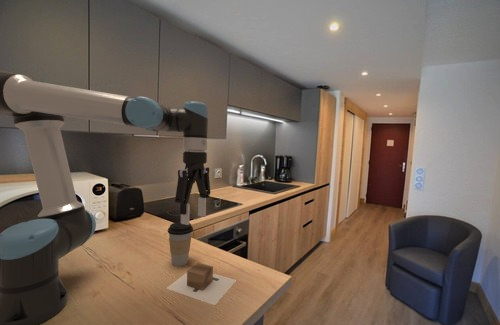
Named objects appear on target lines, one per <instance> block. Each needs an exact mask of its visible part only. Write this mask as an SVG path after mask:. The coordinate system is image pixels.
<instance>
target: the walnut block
mask: <svg viewBox="0 0 500 325" xmlns="http://www.w3.org/2000/svg"><path fill="white" fill-rule="evenodd" d="M186 273H187V286H189V287H193V288H196V289H199V290H202V291H203V290H204V289H205V288H206V287H207V286H208V285H209V284H210V283H211V282H212V281H213V273H214V266H212V265H209V264H205V263H202V262H201V263H200V262H196V264H194V265H193V266H192V267H190V268H189V269H188V270H186Z"/></svg>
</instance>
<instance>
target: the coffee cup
mask: <svg viewBox="0 0 500 325" xmlns="http://www.w3.org/2000/svg"><path fill="white" fill-rule="evenodd" d="M193 231H194V227H193V225H192V224H191V223H190V222H189V225H185V224H181V221H178V222H174V223H171V224H170V225H169V226H168V228H167V233H168V237H169V238H168V242H169V252H170V259H171V265H172V266H174V267H182V266H183V267H184V266H185V265H186V264H188V262H189V253H190V249H191V242H192V232H193Z"/></svg>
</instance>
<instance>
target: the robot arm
mask: <svg viewBox="0 0 500 325" xmlns="http://www.w3.org/2000/svg"><path fill="white" fill-rule="evenodd" d="M208 112H209V111H208V105H207V104H206V103H204V102H201V101H196V100H195V101H192V100H191V101H185V102H184V103H183V107H181V108H180V107H179V108H176V107H166V106H165V105H162V104H160V103H159V102H157V101H156V100H154V99H153V98H150V97H146V96H129V95H123V94H115V93H111V92H103V91H99V90H90V89H85V88H78V87H72V86H67V85H60V84H54V83H47V82H44V81H39V80H35V79H32V78H31V77H29V76H26V75H23V74H18V73H14V72H11V71H8V70H1V69H0V115H4V116H11V117H12V120H13V123H14V127H15V128H17V129H19V130H21V131H22V132H23V133H24V139H25V143H26V146H27V150H28V154H29V158H30V162H31V166H32V170H33V174H34V179H35V182H36V186H37V191H38V194H39V199H40V202H41V206H42V210H41V211H40V212H39V213H38V214H37V219H30V220H28V221H22V222H19V223H17V224H14V225H11V226H9V227H7V228H6V229H4V230H3V231H2V232H0V325H40V324H42V323H44V322H46V321H48V320H50V319H51V318H53V317H55V316H56V315H57V314H59V312H61V311H62V310H63V308H64V307H65V306H66V305H67V303H68V291H67V289H66V287H65V285H64V283H63V281H62V279H61V277H60V274H59V272H60V271H59V269H60V267H59V265H60V264H59V262H60V261H59V260H61V259H62V258H63V257H65V256H66V255H67V254H69V253H71V252H73V251H74V250H76V249H77V248H79V247H81V246H83V245H84V244H85V243H87V241H89V240H90V239H91V238H92V237H93V235H94V234H95V231H96V227H97V221H96V217H95V216H94V215H93V213H92V212H90V211H89V210H87V209H86V208H85V205H84V203H82V202H81V201H78V198H77V196H76V191H75V188H74V187H75V186H74V181H73V179H72V174H71V170H70V165H69V161H68V157H67V153H66V148H65V145H64V140H63V136H62V131H61V129H62V127H63V126H64V125H65V124H66V123H65V117H67V118H68V117H69V118H74V119H75V118H76V119H82V120H89V121H95V122H103V123H109V124H116V125H123V126H129V127H134V128H135V127H136V128H141V129H145V130H146V131H150V132H156V133H159V132H168V133H170V132H171V133H172V132H173V133H183V137H182V140H183V141H182V149H183V150H184V151H183V153H182V162H183V164H185V166H184V169H178V170H177V177H178V178H177V185H176V192H175V200H174V203H177V204H179V205H180V206H179V213H180V222H181V224H185V225H189V223H190V213H191V212H190V206H191V204H190V203H189V200H190V197H191V193H192V189H193V186H194V184H196V186H197V191H198V194H199V197H198V199H197V217H202V218H206V217H207V199H209V198H210V195H211V182H210V167H207V166H205V164H206V163H208V160H207V159H208V153H207V152H206V151H207V149H208V126H209V116H208Z"/></svg>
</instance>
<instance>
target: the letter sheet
mask: <svg viewBox="0 0 500 325" xmlns="http://www.w3.org/2000/svg"><path fill="white" fill-rule="evenodd" d="M236 281H237V280H236V279H234V278H230V277H227V276H224V275H220V274H217V273H214V272H213V281H212V282H211V283H210V284H209V285H208V286H207V287H206V288H205V289H204V290H203V291H202V290H199V289H196V288H193V287H189V286H187V272H185V273H184V274H182V275H181V276H180V277H179V278H178V279H176V280H175V281H174V282H172V283H171V284H170V285H168V286H167V287H165V289H166V290H170V291H172V292H175V293H178V294H181V295H184V296H186V297H189V298H192V299H195V300H198V301H200V302H204V303H206V304H209V305H212V306H216V305H217V303H218V302H219V301H220V300H221V299H222V298H223V297H224V296H225V294H226V293H227V292H228V291H229V290H230V289H231V287H232V286H233V285H234V284H235V283H236Z"/></svg>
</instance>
